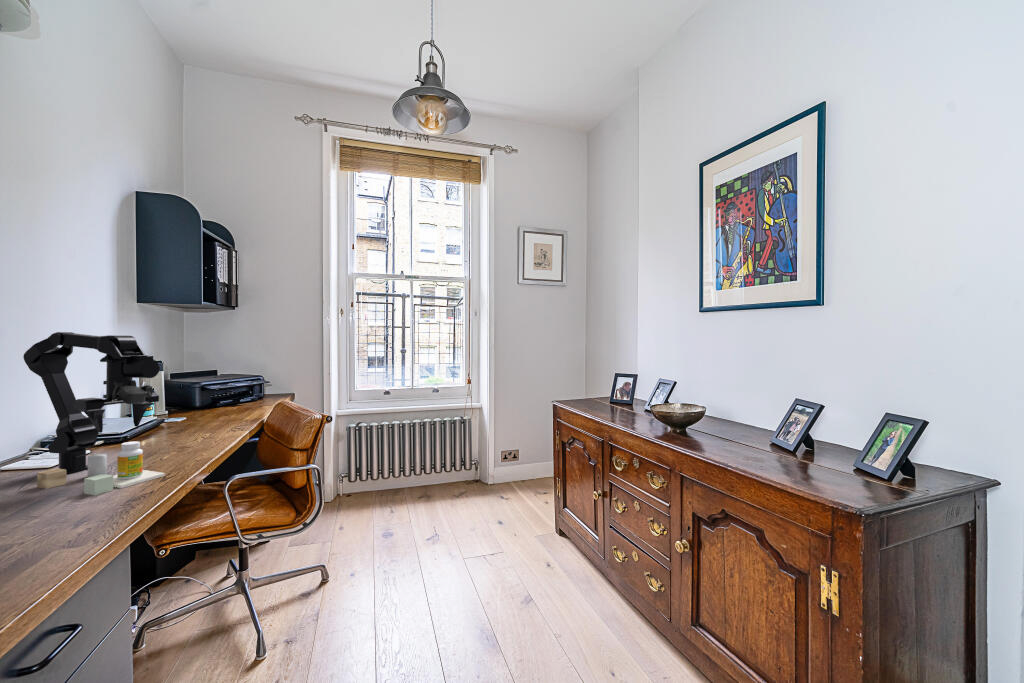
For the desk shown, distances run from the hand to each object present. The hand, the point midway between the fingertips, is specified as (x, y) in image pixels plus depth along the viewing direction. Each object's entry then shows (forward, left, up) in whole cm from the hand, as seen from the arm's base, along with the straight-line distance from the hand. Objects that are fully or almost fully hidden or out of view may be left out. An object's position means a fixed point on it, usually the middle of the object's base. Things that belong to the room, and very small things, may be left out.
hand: (118, 429), depth 126 cm
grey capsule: (-2, -4, -13) cm, 14 cm away
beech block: (-4, -13, -13) cm, 19 cm away
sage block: (+13, -12, -13) cm, 22 cm away
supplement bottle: (+10, -3, -12) cm, 16 cm away
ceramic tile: (+10, -3, -13) cm, 17 cm away
